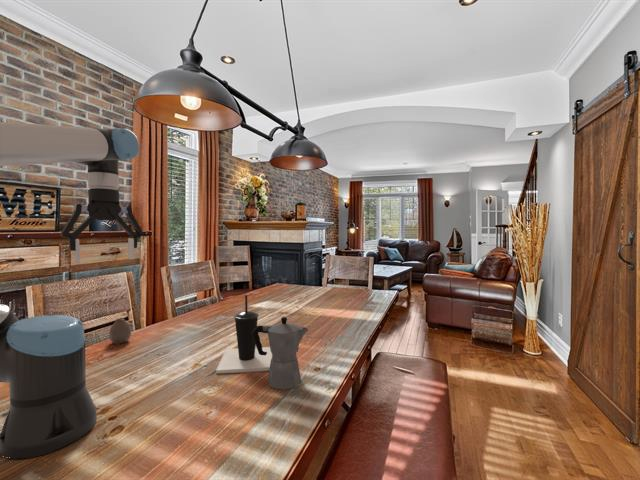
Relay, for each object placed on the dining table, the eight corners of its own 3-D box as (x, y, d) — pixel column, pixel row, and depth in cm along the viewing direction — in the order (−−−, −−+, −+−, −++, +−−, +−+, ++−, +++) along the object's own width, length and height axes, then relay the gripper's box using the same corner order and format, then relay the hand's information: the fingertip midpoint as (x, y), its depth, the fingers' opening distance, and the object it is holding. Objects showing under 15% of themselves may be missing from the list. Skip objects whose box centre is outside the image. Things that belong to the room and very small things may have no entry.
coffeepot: (309, 373, 89) (308, 312, 89) (307, 390, 80) (307, 322, 79) (256, 373, 89) (255, 312, 89) (248, 390, 80) (247, 322, 79)
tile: (271, 370, 91) (271, 367, 91) (216, 373, 89) (215, 370, 89) (273, 349, 107) (273, 346, 107) (226, 351, 105) (226, 348, 105)
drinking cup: (229, 359, 96) (228, 296, 96) (245, 351, 103) (244, 292, 103) (248, 364, 93) (247, 299, 92) (263, 355, 100) (263, 294, 99)
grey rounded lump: (120, 346, 110) (120, 322, 110) (104, 344, 112) (103, 321, 111) (135, 339, 117) (135, 316, 117) (120, 338, 118) (119, 315, 118)
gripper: (145, 193, 103) (146, 257, 103) (45, 185, 84) (48, 263, 85) (153, 191, 98) (155, 258, 98) (50, 182, 79) (52, 265, 80)
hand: (105, 260), depth 91 cm, fingers open, 13 cm apart
